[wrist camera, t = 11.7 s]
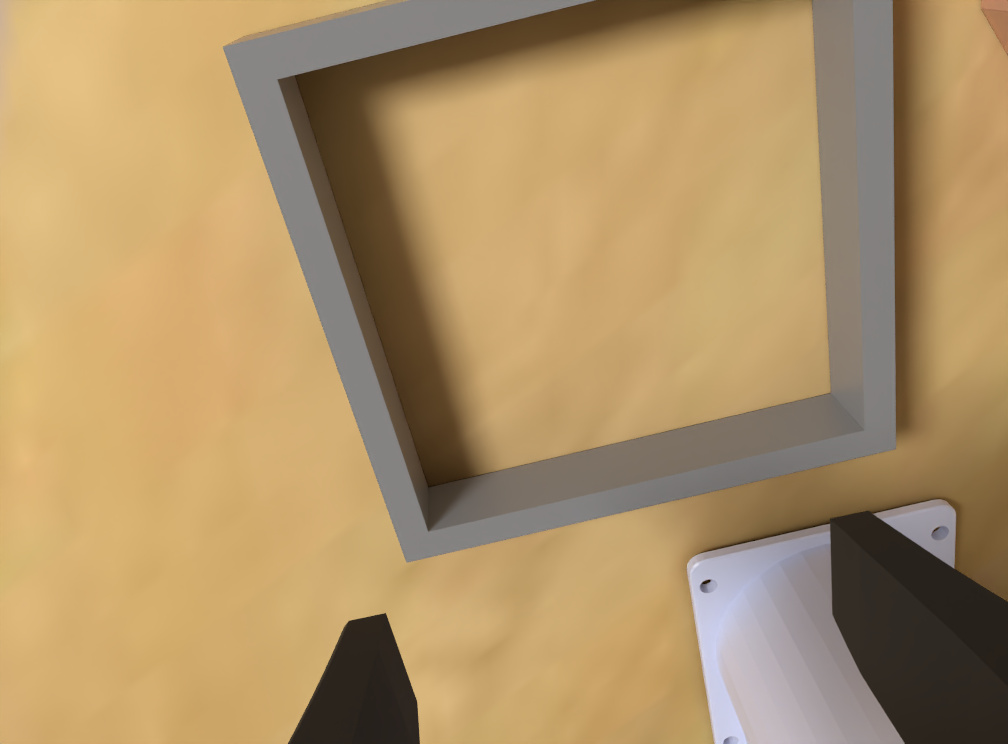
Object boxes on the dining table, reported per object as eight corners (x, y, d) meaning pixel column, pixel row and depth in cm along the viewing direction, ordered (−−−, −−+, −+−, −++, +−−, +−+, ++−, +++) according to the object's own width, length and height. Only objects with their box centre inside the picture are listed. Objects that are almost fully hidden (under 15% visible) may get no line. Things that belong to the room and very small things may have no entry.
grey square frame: (860, 411, 24) (896, 448, 22) (408, 516, 24) (406, 562, 22) (844, -115, 18) (891, -122, 16) (243, 37, 18) (222, 46, 16)
